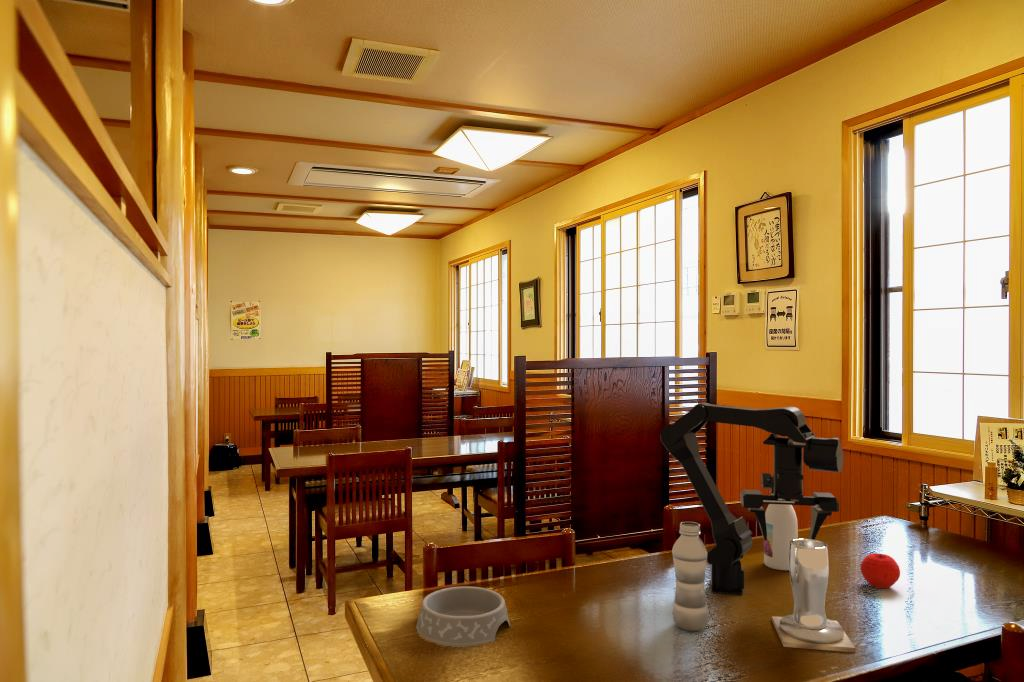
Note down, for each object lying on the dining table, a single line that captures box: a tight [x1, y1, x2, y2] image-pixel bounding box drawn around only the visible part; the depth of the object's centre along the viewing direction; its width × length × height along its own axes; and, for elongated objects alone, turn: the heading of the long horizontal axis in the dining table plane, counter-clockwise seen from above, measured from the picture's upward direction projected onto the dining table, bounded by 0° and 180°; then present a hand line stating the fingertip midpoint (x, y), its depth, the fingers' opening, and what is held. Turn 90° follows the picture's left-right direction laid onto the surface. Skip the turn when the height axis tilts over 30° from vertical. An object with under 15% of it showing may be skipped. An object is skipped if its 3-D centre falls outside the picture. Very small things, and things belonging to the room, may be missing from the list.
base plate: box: [771, 615, 856, 653], centre depth 128 cm, size 12×12×1 cm
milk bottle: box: [763, 494, 799, 571], centre depth 168 cm, size 8×8×20 cm
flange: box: [780, 614, 845, 644], centre depth 128 cm, size 11×11×1 cm
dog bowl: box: [415, 585, 511, 648], centre depth 132 cm, size 17×18×5 cm
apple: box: [860, 553, 901, 589], centre depth 153 cm, size 8×8×7 cm
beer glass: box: [788, 538, 830, 629], centre depth 129 cm, size 7×7×15 cm
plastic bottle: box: [671, 521, 710, 632], centre depth 131 cm, size 6×7×20 cm
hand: (788, 541), depth 144 cm, fingers open, 9 cm apart
